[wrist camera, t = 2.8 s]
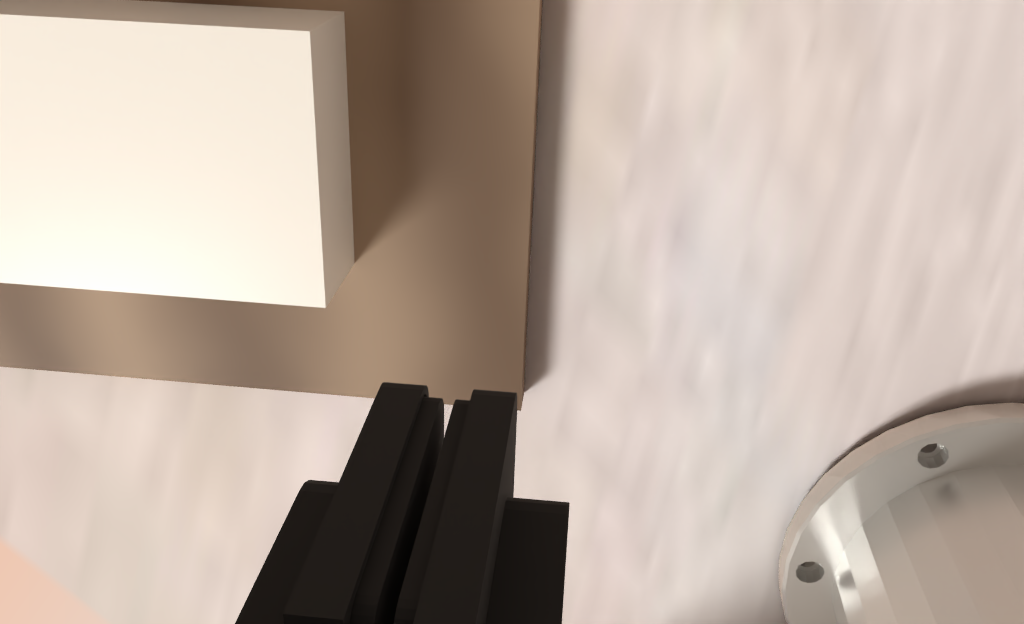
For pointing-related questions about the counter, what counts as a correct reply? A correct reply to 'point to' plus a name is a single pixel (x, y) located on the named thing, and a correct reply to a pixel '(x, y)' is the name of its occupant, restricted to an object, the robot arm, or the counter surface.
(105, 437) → the counter surface
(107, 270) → the cream bevelled block
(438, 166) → the board
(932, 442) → the robot arm
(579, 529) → the counter surface
